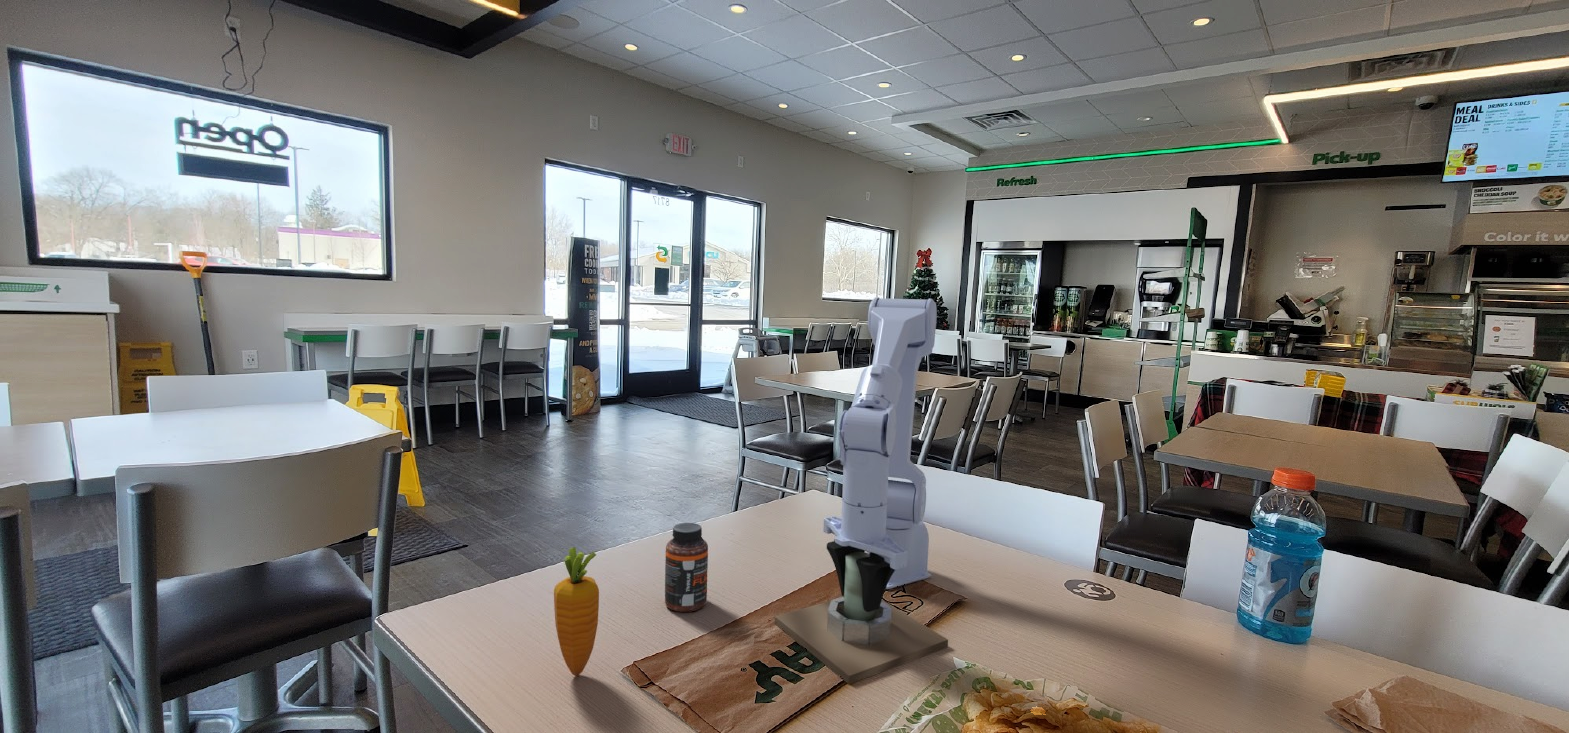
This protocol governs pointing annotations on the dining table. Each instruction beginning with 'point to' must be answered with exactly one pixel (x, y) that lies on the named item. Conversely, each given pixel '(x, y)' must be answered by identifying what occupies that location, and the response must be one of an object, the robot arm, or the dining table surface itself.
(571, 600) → the carrot
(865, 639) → the collar ring
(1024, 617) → the dining table surface
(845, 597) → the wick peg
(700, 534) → the supplement bottle
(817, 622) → the collar board
